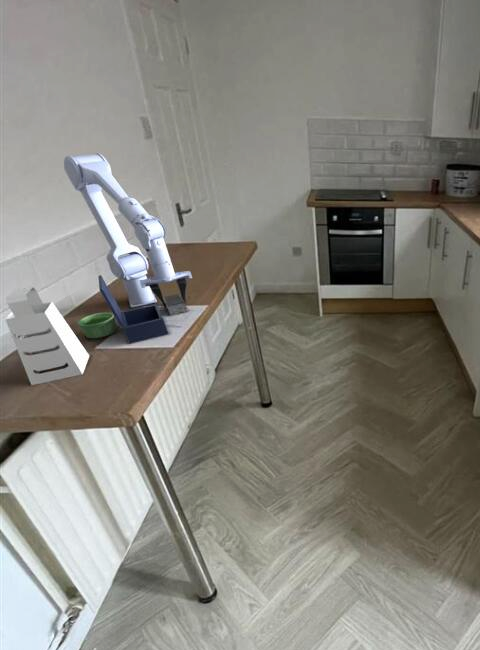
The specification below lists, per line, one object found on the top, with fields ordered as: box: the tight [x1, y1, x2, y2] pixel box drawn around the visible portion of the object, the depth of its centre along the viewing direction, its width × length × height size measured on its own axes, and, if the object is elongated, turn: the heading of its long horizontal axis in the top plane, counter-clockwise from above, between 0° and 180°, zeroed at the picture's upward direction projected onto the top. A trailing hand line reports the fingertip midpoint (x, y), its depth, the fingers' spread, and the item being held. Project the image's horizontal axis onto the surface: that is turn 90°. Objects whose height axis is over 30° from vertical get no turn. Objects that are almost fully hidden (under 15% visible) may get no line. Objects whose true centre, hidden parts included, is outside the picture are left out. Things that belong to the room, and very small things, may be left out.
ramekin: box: [77, 312, 118, 339], centre depth 120 cm, size 9×9×4 cm
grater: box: [4, 286, 90, 386], centre depth 98 cm, size 10×10×20 cm
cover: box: [98, 274, 124, 328], centre depth 114 cm, size 11×14×1 cm
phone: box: [163, 293, 188, 316], centre depth 134 cm, size 10×5×3 cm, turn 31°
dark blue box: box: [121, 303, 169, 344], centre depth 120 cm, size 10×14×5 cm
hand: (174, 304), depth 134 cm, fingers closed on phone, 5 cm apart
